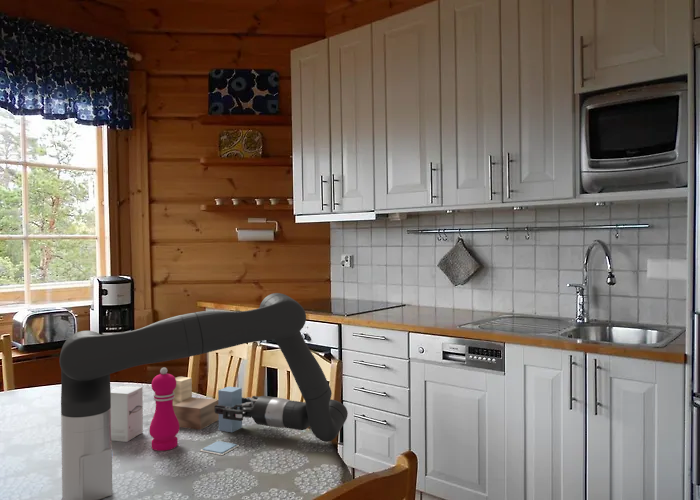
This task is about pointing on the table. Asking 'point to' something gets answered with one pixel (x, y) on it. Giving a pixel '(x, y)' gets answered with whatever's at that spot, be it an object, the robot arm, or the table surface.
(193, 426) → the walnut block
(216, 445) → the tile
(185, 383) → the oak pillar
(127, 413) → the supplement box
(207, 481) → the table surface
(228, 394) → the blue pillar
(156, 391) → the pepper mill
